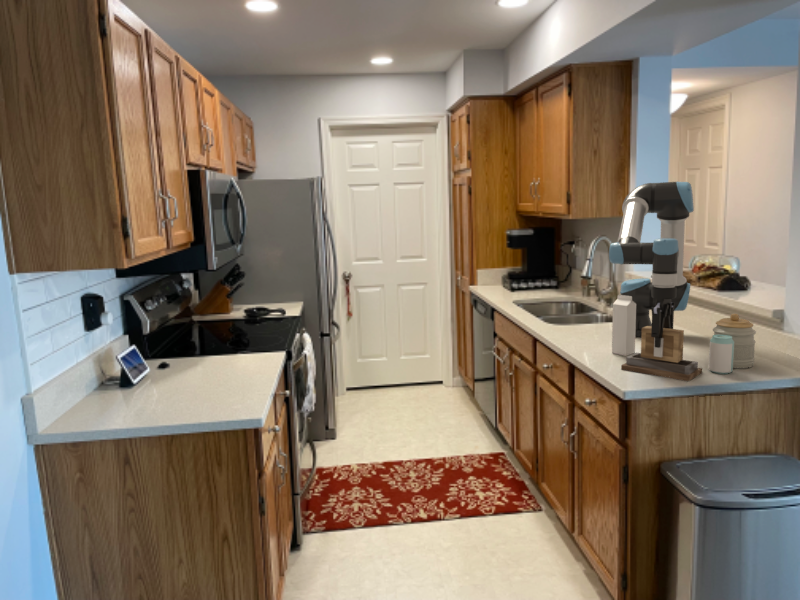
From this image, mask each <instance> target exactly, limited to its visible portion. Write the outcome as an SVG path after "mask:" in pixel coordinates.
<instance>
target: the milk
mask: <svg viewBox="0 0 800 600" xmlns="http://www.w3.org/2000/svg"><path fill="white" fill-rule="evenodd" d="M611 327H612V332H611V336H612V338H611V354H615V355H620V356H624V357H625V356H626V357H628V356H630V355H632V354H634V353H636V337H635V331H636V303H635V302H633V301H632V296H625V295H621V294H617V299H616V300H615V301H614V302H613V303H612V326H611Z"/></svg>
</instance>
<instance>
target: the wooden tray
mask: <svg viewBox="0 0 800 600" xmlns="http://www.w3.org/2000/svg"><path fill="white" fill-rule="evenodd" d="M620 369H621V370H622V371H629V372H632V373H633V372H635V373H640V374H645V375H651V376H656V377H662V378H666V379H667V378H669V379H674V380H679V381H680V380H681V381H686V382H690V381H692V380H694V379H695V378H696V377H698V376H699V375H701V374H702V373H703V368H702V367H699V362H698V361H693V360H687V359H683V360H681V361H680V362H678V363H676V362H669V361H663V360H657V359H651V358H644V357H641V352H635V353H633V354H630V355H627V356H626V362H625V363H623V364H621V368H620Z"/></svg>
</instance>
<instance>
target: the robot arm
mask: <svg viewBox="0 0 800 600" xmlns="http://www.w3.org/2000/svg"><path fill="white" fill-rule="evenodd" d="M693 196H694V195H693V189H692V184H691V182H688V181H668V182H664V181H663V182H648V183H643V184H641V185H639V186H636V187H635V188H634V189H632V190H631V191H630V192H629V193H628V194H627V195H626V197H625V198H624V200H623V202H622V207H621V210H622V214H623V216H622V218H621V219H622V220H621V225H620V227H619V228H620V229H619V235H618V238H617V241H616V242H612V243H610V244H609V250H608V259H609V262H610V263H611V264H613V265H614V264H616V265H652V271H651V273H652V274H651V275H650V278H651V279H650V278H648V277H647V278H643V277H642V278H635V279H627V280H624V281H622V283H621V284H620V292H619V294H620V295H625V296H632V301H633V302H635V303H636V331H635V338H637V337H638V338H639V337H641V335H642V328H643V327H646V326H652V330H651V337H654V356H656V357H663V340H664V338H662V335H663V328H669V329H674V322H675V321H674V316H675V312H683V311H685V310H686V309H687V307H688V302H689V299H690V298H689V297H690V290H691V283H688V282H687V281H688V280H687V278H686V277H685V276H684V254H685V253H684V252H685V251H684V249H685V226H686V224H685V223H686V220H687V219H689V218H690V213H694V210H695V209H694V208H695V206H694V197H693ZM647 214H656V218H657V219H658V220H659V221H660V238H655V239H654V240H653V242H641V240H642V234H643V229H644V228H643V227H644V220H645V216H646V215H647ZM650 310H651V317H650Z"/></svg>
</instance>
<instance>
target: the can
mask: <svg viewBox="0 0 800 600" xmlns="http://www.w3.org/2000/svg"><path fill="white" fill-rule="evenodd" d="M708 352H709V353H708V354H709V355H708V370H709V371H711V373H713V374H719V375H727V374H728V373H729V374H730V373H732V372H733V369H734V368H733V357H734V341H733V339H732V336H729V335H714V334H713V335H712V336H711V338H710V339H709V351H708Z"/></svg>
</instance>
